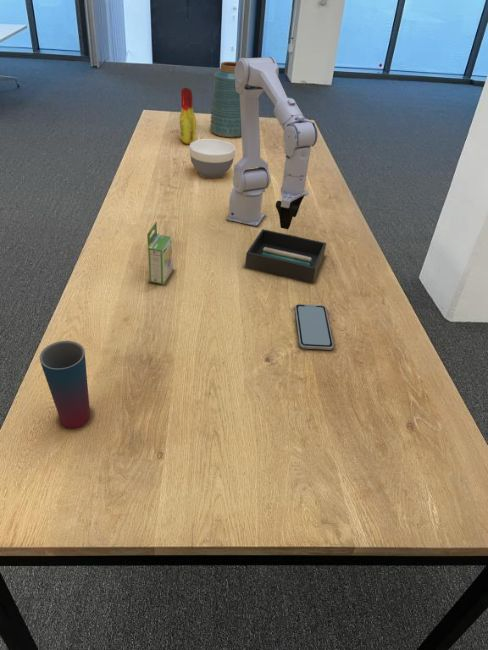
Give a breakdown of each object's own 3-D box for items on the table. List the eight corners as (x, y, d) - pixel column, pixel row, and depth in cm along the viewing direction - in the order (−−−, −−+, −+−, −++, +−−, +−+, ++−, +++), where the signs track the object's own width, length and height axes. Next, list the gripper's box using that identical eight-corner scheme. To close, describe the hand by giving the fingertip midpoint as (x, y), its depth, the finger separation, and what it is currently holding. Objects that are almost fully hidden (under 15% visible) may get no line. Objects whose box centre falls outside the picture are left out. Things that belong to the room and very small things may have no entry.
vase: (233, 141, 208) (237, 70, 191) (202, 132, 214) (203, 63, 197) (254, 132, 219) (260, 64, 202) (224, 123, 225) (226, 57, 208)
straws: (260, 257, 135) (261, 249, 133) (263, 252, 137) (264, 244, 135) (309, 268, 132) (310, 260, 131) (311, 263, 134) (313, 255, 133)
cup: (59, 403, 91) (44, 340, 82) (98, 402, 92) (87, 340, 82) (51, 433, 86) (34, 369, 76) (92, 432, 86) (80, 369, 77)
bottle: (178, 136, 208) (178, 84, 196) (194, 136, 209) (194, 84, 197) (180, 146, 199) (180, 92, 187) (196, 146, 200) (197, 92, 188)
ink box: (164, 285, 123) (162, 236, 114) (148, 282, 123) (145, 234, 115) (173, 270, 128) (172, 223, 120) (158, 268, 128) (156, 220, 120)
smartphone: (300, 346, 107) (294, 303, 118) (299, 349, 107) (294, 306, 119) (334, 347, 107) (325, 305, 119) (333, 350, 108) (325, 308, 119)
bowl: (242, 177, 178) (244, 150, 172) (203, 185, 171) (204, 157, 165) (218, 162, 188) (219, 136, 182) (181, 169, 181) (181, 142, 175)
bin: (245, 267, 132) (246, 252, 129) (260, 243, 142) (262, 228, 139) (312, 283, 128) (315, 268, 125) (323, 257, 138) (326, 242, 136)
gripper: (304, 186, 119) (296, 237, 127) (317, 165, 129) (309, 213, 138) (275, 180, 120) (269, 231, 128) (290, 160, 131) (284, 208, 139)
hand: (288, 222), depth 133 cm, fingers open, 7 cm apart
